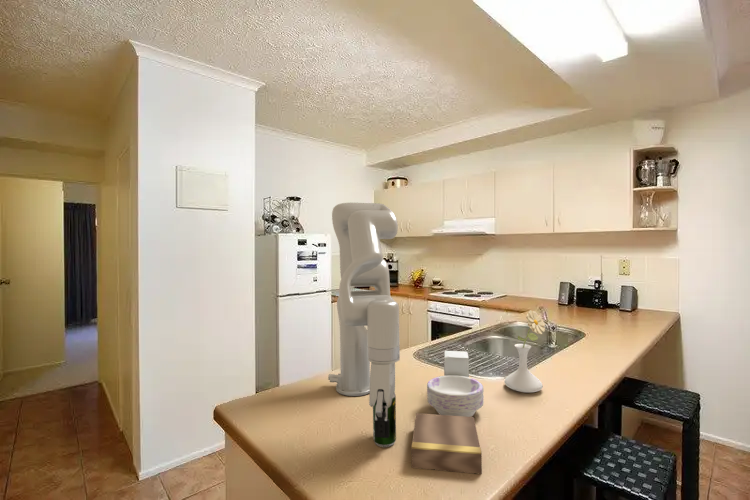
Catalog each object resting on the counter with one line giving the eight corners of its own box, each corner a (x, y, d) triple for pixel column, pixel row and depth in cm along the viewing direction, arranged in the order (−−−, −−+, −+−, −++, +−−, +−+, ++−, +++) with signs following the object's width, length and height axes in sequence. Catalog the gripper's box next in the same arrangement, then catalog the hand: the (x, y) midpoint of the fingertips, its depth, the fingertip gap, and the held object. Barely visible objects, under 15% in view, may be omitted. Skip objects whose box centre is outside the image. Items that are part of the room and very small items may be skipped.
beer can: (376, 449, 81) (375, 396, 81) (371, 437, 87) (370, 387, 86) (398, 446, 82) (398, 394, 82) (392, 434, 88) (392, 385, 88)
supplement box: (469, 400, 107) (469, 358, 106) (444, 398, 108) (443, 356, 108) (468, 390, 114) (467, 351, 114) (444, 389, 115) (444, 350, 115)
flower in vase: (517, 397, 108) (517, 314, 108) (497, 383, 119) (496, 308, 119) (555, 393, 111) (555, 312, 111) (532, 380, 122) (531, 306, 122)
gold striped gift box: (411, 467, 74) (411, 446, 74) (416, 429, 90) (416, 412, 90) (481, 474, 72) (481, 452, 72) (473, 433, 88) (473, 415, 88)
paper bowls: (424, 400, 107) (424, 373, 107) (475, 400, 107) (475, 373, 107) (430, 425, 92) (430, 394, 92) (490, 426, 91) (490, 394, 91)
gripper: (374, 342, 94) (375, 411, 94) (360, 364, 76) (361, 447, 77) (403, 343, 92) (403, 413, 92) (395, 365, 75) (396, 450, 75)
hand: (384, 428), depth 84 cm, fingers open, 6 cm apart
